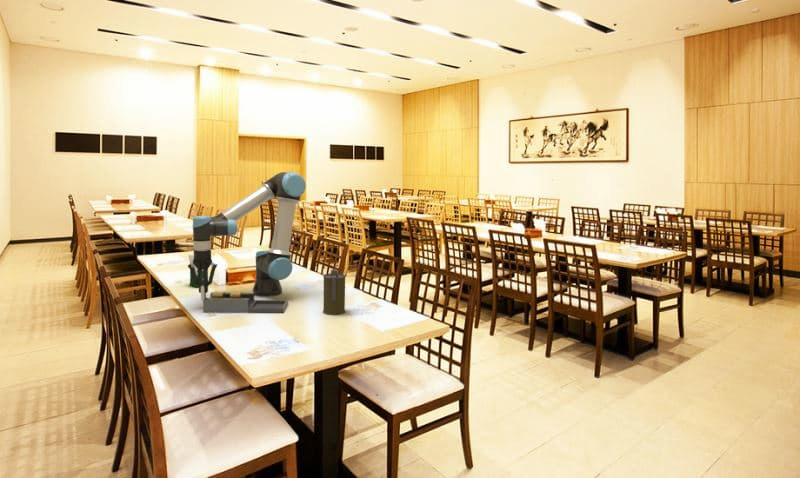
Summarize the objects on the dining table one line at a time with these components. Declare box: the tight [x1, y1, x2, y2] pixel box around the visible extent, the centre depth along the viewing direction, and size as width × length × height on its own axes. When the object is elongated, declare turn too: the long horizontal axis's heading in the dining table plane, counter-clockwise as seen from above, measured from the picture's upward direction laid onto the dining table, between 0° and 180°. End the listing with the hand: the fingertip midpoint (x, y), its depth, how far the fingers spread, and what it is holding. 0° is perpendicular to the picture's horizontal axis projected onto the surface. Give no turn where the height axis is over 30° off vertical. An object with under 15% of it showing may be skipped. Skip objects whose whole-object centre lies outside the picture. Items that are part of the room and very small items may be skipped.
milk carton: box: [187, 253, 210, 289], centre depth 277 cm, size 9×9×20 cm
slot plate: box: [202, 291, 256, 314], centre depth 235 cm, size 20×14×6 cm
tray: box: [247, 299, 289, 314], centre depth 237 cm, size 16×15×2 cm
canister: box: [322, 268, 347, 316], centre depth 233 cm, size 11×10×20 cm
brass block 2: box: [230, 291, 243, 298], centre depth 235 cm, size 4×4×4 cm
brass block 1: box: [212, 291, 226, 298], centre depth 235 cm, size 4×4×4 cm
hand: (203, 299), depth 234 cm, fingers closed
